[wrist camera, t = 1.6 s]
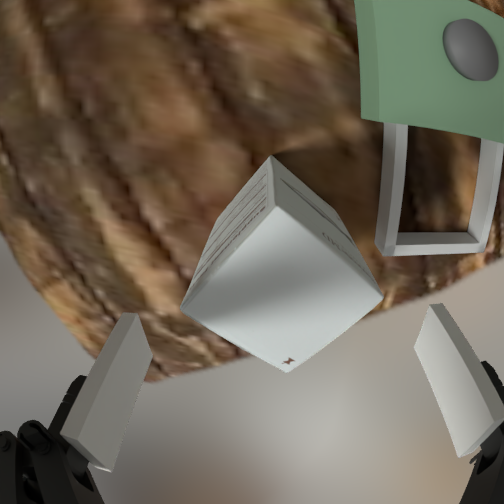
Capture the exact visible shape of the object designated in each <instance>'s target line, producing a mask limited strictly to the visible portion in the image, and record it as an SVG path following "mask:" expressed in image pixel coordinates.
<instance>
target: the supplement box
mask: <svg viewBox="0 0 504 504" xmlns="http://www.w3.org/2000/svg"><path fill="white" fill-rule="evenodd" d="M383 297H384V296H383V294H382V292H381V290H380V289H379V287H378V285H377V283H376V281H375V279H374V277H373V275H372V273H371V272H370V270H369V268H368V266H367V264H366V263H365V261H364V259H363V257H362V255H361V253H360V252H359V250H358V248H357V246H356V244H355V243H354V241H353V239H352V237H351V236H350V234H349V232H348V231H347V229H346V227H345V226H344V224H343V222H342V220H341V219H340V217H339V215H338V214H337V212H336V211H335V209H333V208H332V207H331V206H330V205H329V204H327V203H326V202H325V201H324V200H322V199H321V198H320V197H319V196H318V195H316V194H315V193H314V192H313V191H312V190H311V189H310V188H309V187H307V186H306V185H305V184H304V183H303V182H302V181H301V180H299V179H298V178H297V177H296V176H295V175H294V174H292V173H291V172H290V171H289V170H288V169H287V168H286V167H284V166H283V165H282V164H281V163H280V162H279V161H278V160H277V159H276V158H274V157H273V156H272V155H271V156H269V157H268V159H267V160H266V161H265V162H264V163H263V165H262V166H261V167H260V168H259V169H258V171H257V172H256V173H255V174H254V175H253V176H252V178H251V179H250V180H249V181H248V182H247V183H246V185H245V186H244V187H243V188H242V189H241V191H240V192H239V193H238V194H237V195H236V197H235V198H234V199H233V200H232V201H231V203H230V204H229V205H228V206H227V207H226V209H225V210H224V211H223V212H222V213H221V215H220V216H219V217H218V219H217V221H216V223H215V225H214V227H213V229H212V232H211V234H210V236H209V239H208V241H207V243H206V246H205V248H204V251H203V253H202V256H201V258H200V261H199V264H198V266H197V269H196V271H195V274H194V276H193V279H192V281H191V284H190V286H189V289H188V291H187V293H186V296H185V298H184V300H183V302H182V304H181V306H180V310H181V311H182V312H183V313H184V314H186V315H187V316H189V317H190V318H192V319H193V320H195V321H197V322H198V323H200V324H202V325H204V326H205V327H207V328H208V329H210V330H212V331H213V332H215V333H216V334H218V335H220V336H221V337H223V338H225V339H227V340H228V341H230V342H232V343H233V344H235V345H236V346H238V347H240V348H241V349H243V350H245V351H247V352H249V353H251V354H253V355H254V356H256V357H258V358H260V359H262V360H263V361H265V362H267V363H269V364H271V365H273V366H274V367H276V368H278V369H280V370H282V371H283V372H285V373H288V372H290V371H291V370H293V369H294V368H296V367H297V366H299V365H300V364H302V363H303V362H305V361H306V360H308V359H309V358H310V357H312V356H313V355H314V354H316V353H317V352H318V351H320V350H321V349H322V348H324V347H325V346H327V345H328V344H329V343H331V342H332V341H333V340H334V339H335V338H337V337H338V336H340V335H341V334H342V333H344V332H345V331H346V330H347V329H349V328H350V327H351V326H352V325H353V324H355V323H356V322H357V321H358V320H360V319H361V318H362V317H363V316H364V315H366V314H367V313H368V312H369V311H371V310H372V309H373V308H374V307H375V306H376V305H377V304H378V303H379V302H380V301H381V300H382V299H383Z"/></svg>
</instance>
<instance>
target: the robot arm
mask: <svg viewBox="0 0 504 504" xmlns="http://www.w3.org/2000/svg"><path fill="white" fill-rule="evenodd" d="M414 349H415V351H416V354H417V355H418V357H419V360H420V362H421V364H422V367H423V369H424V371H425V373H426V375H427V378H428V380H429V382H430V384H431V387H432V389H433V392H434V394H435V396H436V399H437V402H438V404H439V406H440V409H441V411H442V414H443V417H444V419H445V422H446V425H447V427H448V430H449V432H450V435H451V438H452V441H453V444H454V446H455V449H456V453H457V456H458V458H460V457H462V456H465V455H467V454H470V453H472V452H473V451H474V450H475V449H477V448H478V447H479V446H481V449H482V450H481V451H480V452H479V453H478V454H477V455H476V456H474V457H473V458H472V459H471V461H470V464H471V463H472V462H474V461H475V460H476V459H477V460H476V463H475V464H474V465H475V466H474V469H473V472H472V474H471V477H470V480H469V482H468V485H467V487H466V489H465V492H464V494H463V496H462V499H461V501H460V503H459V504H504V386H502V385H503V384H502V382H501V380H500V379H499V378H498V375H497V373H496V372H495V370H494V368H493V367H492V366H491V365H490V364H488V363H487V362H486V361H483V362H480V361H479V359H478V357H477V356H476V354H475V352H474V351H473V349H472V347H471V346H470V344H469V343H468V341H467V339H466V338H465V336H464V335H463V333H462V332H461V330H460V329H459V327H458V326H457V324H456V322H455V321H454V320H453V318H452V317H451V315H450V314H449V312H448V311H447V309H446V308H445V306H444V305H443V304H442V303H440V304H432V305H429V307H428V311H427V313H426V317H425V319H424V322H423V325H422V328H421V330H420V333H419V336H418V339H417V341H416V343H415V346H414ZM152 357H153V355H152V353H151V350H150V347H149V345H148V342H147V339H146V336H145V334H144V331H143V328H142V325H141V322H140V319H139V316H138V313H122V315H121V317H120V318H119V320H118V322H117V324H116V325H115V327H114V329H113V331H112V332H111V334H110V336H109V338H108V339H107V341H106V343H105V345H104V347H103V348H102V350H101V352H100V354H99V356H98V358H97V359H96V361H95V363H94V365H93V367H92V369H91V371H90V373H89V375H88V376H83V375H80V376H78V377H77V378H76V379H75V380H74V381H73V382H72V383H71V385H70V387H69V389H68V391H67V394H66V395H65V396H64V398H63V400H62V401H63V402H62V403H61V404H60V406H59V408H58V410H57V412H56V414H55V416H54V418H53V420H52V422H51V424H50V426H49V428H48V430H47V429H46V428H45V427H44V426H43V425H42V424H41V423H40V422H39V421H36V420H30V421H27V422H25V423H23V425H22V426H21V427H20V428H19V431H18V433H17V437H16V436H14V435H13V434H12V433H11V432H10V431H2V432H0V504H104V501H103V499H102V497H101V495H100V493H99V491H98V489H97V487H96V485H95V482H94V480H93V478H92V475H91V473H90V471H89V469H88V468H87V466H88V463H89V462H90V463H91V464H92V465H94V466H95V467H96V468H99V469H102V470H106V471H109V472H112V471H113V468H114V464H115V461H116V458H117V455H118V452H119V449H120V445H121V442H122V439H123V437H124V434H125V431H126V428H127V425H128V422H129V419H130V416H131V413H132V411H133V408H134V405H135V402H136V399H137V397H138V394H139V391H140V388H141V386H142V383H143V380H144V378H145V375H146V372H147V370H148V367H149V364H150V362H151V359H152Z"/></svg>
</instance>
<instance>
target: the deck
mask: <svg viewBox="0 0 504 504" xmlns="http://www.w3.org/2000/svg"><path fill="white" fill-rule="evenodd" d="M354 3H355V11H356V21H357V31H358V44H359V59H360V81H361V118H362V119H368V120H373V121H378V122H384V136H383V159H382V174H381V187H380V198H379V208H378V217H377V225H376V233H375V241H374V243H375V245H376V246H377V248H378V249H379V251H380V252H381V254H382V255H383V256H402V255H429V254H455V253H478V252H484V250H485V246H486V243H487V239H488V235H489V231H490V227H491V223H492V218H493V214H494V209H495V204H496V199H497V193H498V188H499V181H500V175H501V167H502V159H503V149H504V18H502V17H500V16H499V15H497V14H495V13H493V12H491V11H489V10H487V9H485V8H483V7H481V6H479V5H477V4H475V3H473V2H471V1H468V0H354ZM408 125H412V126H419V127H426V128H432V129H438V130H444V131H449V132H454V133H460V134H464V135H469V136H474V137H478V138H481V149H480V159H479V168H478V176H477V183H476V189H475V195H474V201H473V207H472V212H471V217H470V221H469V226H468V230H467V232H418V233H398V227H399V220H400V213H401V205H402V197H403V188H404V179H405V167H406V154H407V136H408Z"/></svg>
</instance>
